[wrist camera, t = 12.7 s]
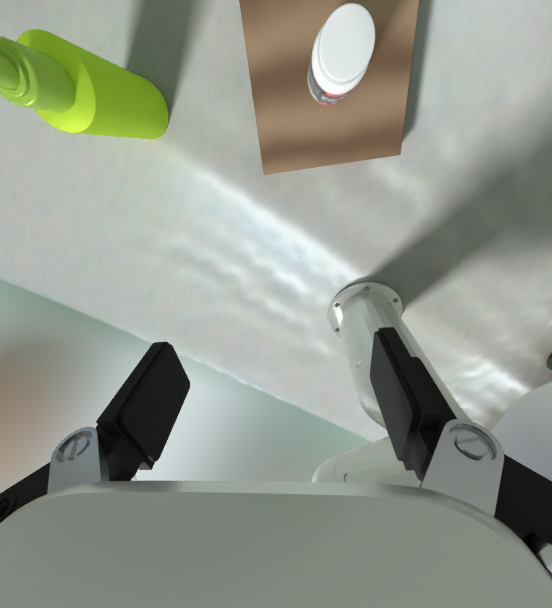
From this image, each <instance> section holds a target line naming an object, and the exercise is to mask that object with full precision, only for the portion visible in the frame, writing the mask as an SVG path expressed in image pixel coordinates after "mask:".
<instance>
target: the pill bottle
mask: <svg viewBox="0 0 552 608" xmlns="http://www.w3.org/2000/svg"><path fill="white" fill-rule="evenodd" d="M374 44H375V27H374V23H373V20H372V17H371V15H370V14H369V12H368V11H367V10H366V9H365V8H364V7H363V6H361V5H359V4H356V3H348V4H345V5H342V6H340V7H339V8H337V9H336V10H335V11H334V12H333V13H332V14H331V15H330V17H329V18H328V19H327V21H326V23H325V24H324V25H323V27H322V28H321V30H320V31H319V33H318V35H317V37H316V40H315V42H314V46H313V49H312V54H311V59H310V63H309V68H308V86H309V90H310V92H311V94H312V96H313V97H314V99H315V100H316V101H318V102H319V103H321V104H323V105H333V104H336V103H338V102H339V101H341V100H342V99H343V98H344V97H345V96H346V95H347V94H348V93H349V92H350V91H351V90H352V89H353V88H354V87H355V86H356V85H357V84H358V83H359V81H360V80H361V79H362V77H363V75H364V74H365V72H366V69H367V67H368V64H369V60H370V58H371V55H372V53H373V49H374Z"/></svg>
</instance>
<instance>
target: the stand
mask: <svg viewBox="0 0 552 608" xmlns="http://www.w3.org/2000/svg"><path fill="white" fill-rule="evenodd" d="M239 1H240V9H241V16H242V23H243V30H244V37H245V44H246V51H247V58H248V65H249V72H250V79H251V87H252V94H253V101H254V108H255V115H256V122H257V129H258V136H259V143H260V150H261V158H262V165H263V172H264V175H266V174H273V173H280V172H287V171H293V170H300V169H307V168H314V167H321V166H327V165H334V164H341V163H348V162H355V161H361V160H368V159H375V158H382V157H388V156H395V155H400V153H401V145H402V137H403V128H404V120H405V112H406V104H407V96H408V87H409V79H410V71H411V63H412V54H413V46H414V38H415V30H416V22H417V13H418V5H419V0H239ZM348 3H356V4H359V5H361V6H363V7H364V8H365V9H366V10H367V11H368V12H369V14H370V15H371V17H372V20H373V23H374V27H375V44H374V49H373V53H372V55H371V58H370V60H369V64H368V67H367V69H366V72H365V74H364V75H363V77H362V79H361V80H360V81H359V83H358V84H357V85H356V86H355V87H354V88H353V89H352V90H351V91H350V92H349V93H348V94H347V95H346V96H345V97H344V98H343V99H342V100H341V101H339V102H338V103H336V104H333V105H323V104H321V103H319V102H318V101H316V100H315V99H314V97H313V96H312V94H311V92H310V90H309V86H308V68H309V63H310V59H311V54H312V49H313V46H314V42H315V40H316V37H317V35H318V33H319V31H320V30H321V28H322V27H323V25H324V24H325V23H326V21H327V19H328V18H329V17H330V15H331V14H332V13H333V12H334V11H335V10H336V9H337V8H339V7H340V6H342V5H345V4H348Z"/></svg>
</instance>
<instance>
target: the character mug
mask: <svg viewBox="0 0 552 608" xmlns="http://www.w3.org/2000/svg"><path fill="white" fill-rule="evenodd" d="M547 367H548V368H549V369H550V370H552V356H551V357H550V358H549V360H548V361H547Z"/></svg>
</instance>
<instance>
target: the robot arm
mask: <svg viewBox="0 0 552 608" xmlns="http://www.w3.org/2000/svg"><path fill="white" fill-rule="evenodd" d="M402 313H403V305H402V301H401V299H400V297H399V296H398V294H397V293H396V292H395V291H394V290H393V289H392V288H391V287H389V286H387V285H385V284H382V283H379V282H362V283H357V284H354V285H352V286H349V287H348V288H346V289H344V290H343V291H341V292H340V293H339V294H338V295H337V296H336V297H335V298H334V299H333V301H332V303H331V304H330V307H329V310H328V320H329V324H330V327H331V329H332V330H333V332H334V333H335V334H336V335H337V336H339V337H340V338H342V339H343V343H344V347H345V351H346V354H347V358H348V362H349V366H350V369H351V373H352V377H353V381H354V384H355V388H356V392H357V395H358V399H359V401H360V404H361V406H362V408H363V409H364V410H365V412H366V413H367V414H368V416H369V417H371V418H372V419H373V420H374V421H375V422H376V423H378V424H379V425H380V426H382V427H383V428H385V429H386V430H387V431H388V434H389V436H388V437H386V438H383V439H381V440H378V441H376V442H374V443H371V444H368V445H365V446H362V447H359V448H356V449H353V450H350V451H347V452H344V453H342V454H339V455H337V456H334V457H332V458H330V459H327V460H326V461H324V462H323V463H322V464H320V465H319V467H318V468H317V469H316V471H315V473H314V475H313V478H312V482H267V481H261V482H260V481H259V482H258V481H137V480H136V476H135V474H136V472H137V470H138V469H140V470H152V467H153V465H154V463H155V461H157V460H158V459H159V458H160V456H161V453H162V451H163V449H164V446H165V444H166V442H167V440H168V437H169V435H170V432H171V430H172V428H173V426H174V423H175V421H176V419H177V416H178V414H179V412H180V410H181V407H182V405H183V403H184V400H185V398H186V395H187V393H188V391H189V388H190V381H189V379H188V377H187V375H186V373H185V371H184V369H183V367H182V365H181V363H180V360H179V359H178V356H177V354H176V352H175V350H174V348H173V346H172V345H170V344H169V343H168V342H155V343H153V344H152V345H151V347H150V348H149V350H148V351H147V352H146V354H145V355H144V356H143V358H142V359H141V361H140V362H139V364H138V365H137V366H136V367H135V369H134V370H133V372H132V373H131V374H130V376H129V377H128V378H127V380H126V381H125V383H124V384H123V385H122V387H121V388H120V389H119V391H118V392H117V394H116V395H115V396H114V398H113V399H112V401H111V402H110V403H109V405H108V406H107V407H106V409H105V410H104V412H103V413H102V414H101V416H100V417H99V418H98V420H97V421H96V422H97V423H98V425H97V427H96V428H93V427H85V428H81V429H79V430H76V431H75V432H73V433H71V434H70V435H68V436H67V437H66V438H65V439H64V440H63V441H61V443H60V444H59V445H58V446H57V447H56V449H55V450H54V452H53V454H52V457H51V462H49V463H48V464H46V465H45V466H43V467H42V468H40V469H39V470H37V471H35V472H34V473H32V474H30V475H29V476H27V477H26V478H24V479H23V480H21V481H19V482H18V483H16V484H15V485H13V486H11V487H10V488H8V489H7V490H5V491H4V492H2V493H1V494H0V608H552V481H550V480H548V479H547V478H545V477H543V476H541V475H539V474H538V473H536V472H534V471H532V470H531V469H529V468H527V467H525V466H524V465H522V464H520V463H519V462H516V461H515V460H513V459H512V458H510V457H508V456H506V455H505V454H504V451H503V449H502V447H501V444H500V443H499V441H498V440H497V439H496V438H495V436H494V435H493V434H491V433H490V432H489V431H488V430H487V429H485V428H484V427H482V426H480V425H479V424H477V423H474V422H472V420H471V419H470V418H469V417H468V415H467V414H466V413H465V412H464V411H463V409H462V408H461V407H460V406H459V404H458V403H457V401H456V400H455V399H454V397H453V396H452V394H451V393H450V391H449V390H448V389H447V387H446V386H445V384H444V383H443V381H442V380H441V378H440V377H439V375H438V374H437V372H436V371H435V369H434V368H433V366H432V365H431V363H430V362H429V360H428V359H427V357H426V355H425V354H424V352H423V351H422V349H421V348H420V346H419V345H418V343H417V342H416V340H415V339H414V337H413V336H412V334H411V333H410V331H409V329H408V328H407V326H406V325H405V323H404V322H403V320H402V319H401V317H402Z"/></svg>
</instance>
